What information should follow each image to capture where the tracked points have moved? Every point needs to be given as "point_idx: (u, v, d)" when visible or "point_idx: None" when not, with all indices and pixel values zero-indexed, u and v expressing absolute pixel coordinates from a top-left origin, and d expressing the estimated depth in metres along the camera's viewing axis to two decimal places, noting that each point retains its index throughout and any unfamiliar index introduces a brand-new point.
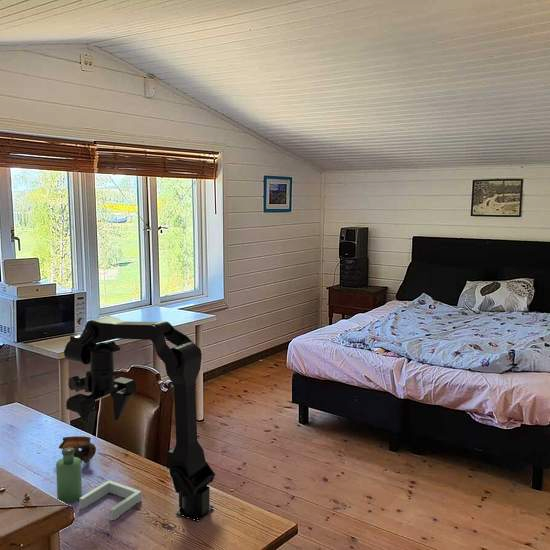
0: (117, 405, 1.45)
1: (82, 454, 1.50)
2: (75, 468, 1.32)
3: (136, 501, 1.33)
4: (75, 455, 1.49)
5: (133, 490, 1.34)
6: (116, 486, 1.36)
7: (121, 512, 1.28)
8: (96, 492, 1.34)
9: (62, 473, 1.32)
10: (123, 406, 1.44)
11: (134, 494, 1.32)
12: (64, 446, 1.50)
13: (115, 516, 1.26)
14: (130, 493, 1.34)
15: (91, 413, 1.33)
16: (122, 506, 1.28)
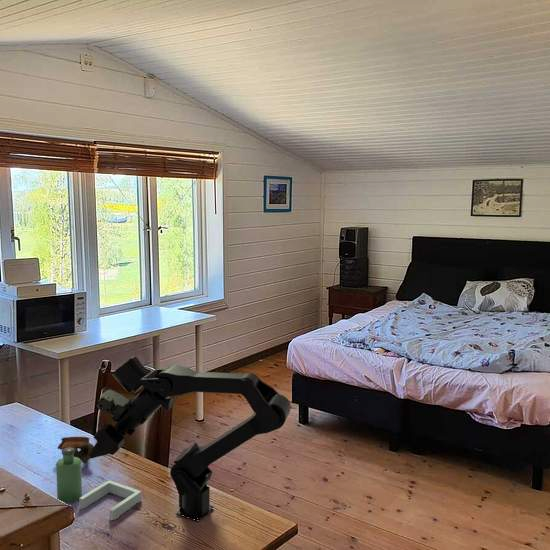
0: None
1: (81, 454, 1.50)
2: (75, 468, 1.32)
3: (136, 501, 1.33)
4: (74, 455, 1.49)
5: (133, 490, 1.34)
6: (116, 486, 1.36)
7: (121, 512, 1.28)
8: (96, 492, 1.34)
9: (62, 473, 1.32)
10: None
11: (134, 494, 1.32)
12: (63, 446, 1.50)
13: (115, 516, 1.26)
14: (130, 493, 1.34)
15: None
16: (122, 506, 1.28)
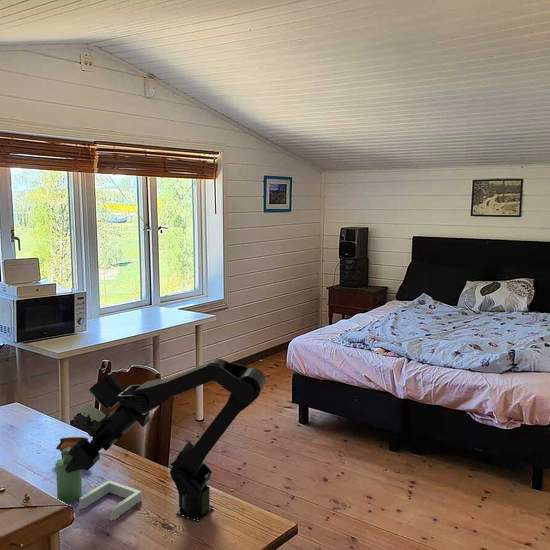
0: None
1: None
2: None
3: (136, 501, 1.33)
4: None
5: (133, 490, 1.34)
6: (116, 486, 1.36)
7: (121, 512, 1.28)
8: (96, 492, 1.34)
9: (62, 473, 1.32)
10: None
11: (134, 494, 1.32)
12: (61, 447, 1.50)
13: (115, 516, 1.26)
14: (130, 493, 1.34)
15: None
16: (122, 506, 1.28)
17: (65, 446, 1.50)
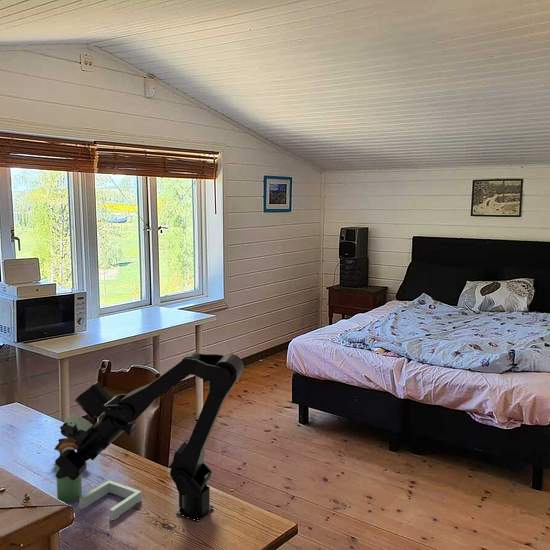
0: None
1: None
2: None
3: (136, 501, 1.33)
4: None
5: (133, 490, 1.34)
6: (116, 486, 1.36)
7: (121, 512, 1.28)
8: (96, 492, 1.34)
9: None
10: None
11: (134, 494, 1.32)
12: (60, 447, 1.49)
13: (115, 516, 1.26)
14: (130, 493, 1.34)
15: None
16: (122, 506, 1.28)
17: (63, 447, 1.49)
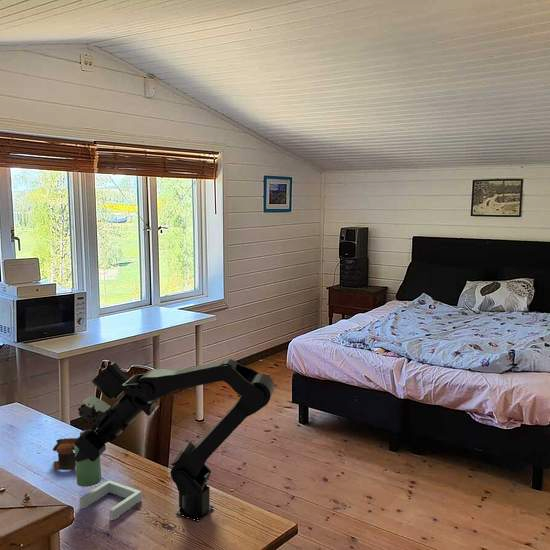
0: None
1: None
2: None
3: (136, 501, 1.33)
4: (69, 457, 1.48)
5: (133, 490, 1.34)
6: (116, 486, 1.36)
7: (121, 512, 1.28)
8: (96, 492, 1.34)
9: None
10: None
11: (134, 494, 1.32)
12: (58, 448, 1.49)
13: (115, 516, 1.26)
14: (130, 493, 1.34)
15: None
16: (122, 506, 1.28)
17: (62, 447, 1.49)
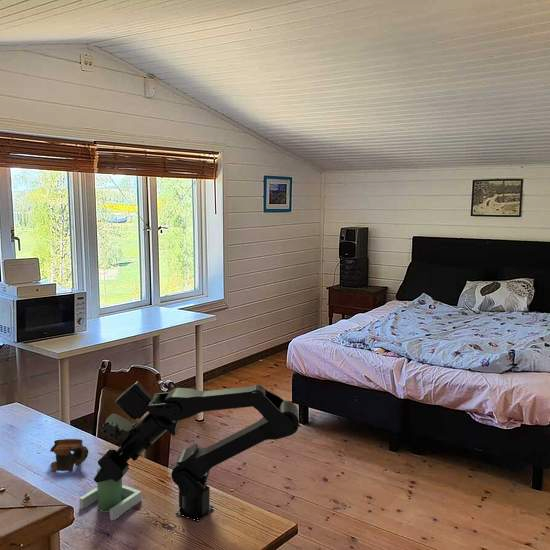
0: None
1: (74, 457, 1.48)
2: None
3: (136, 501, 1.33)
4: (67, 458, 1.48)
5: (133, 490, 1.34)
6: None
7: (121, 512, 1.28)
8: (96, 492, 1.34)
9: (103, 481, 1.28)
10: None
11: (134, 494, 1.32)
12: (56, 449, 1.48)
13: (115, 516, 1.26)
14: (130, 493, 1.34)
15: None
16: (122, 506, 1.28)
17: (59, 448, 1.48)
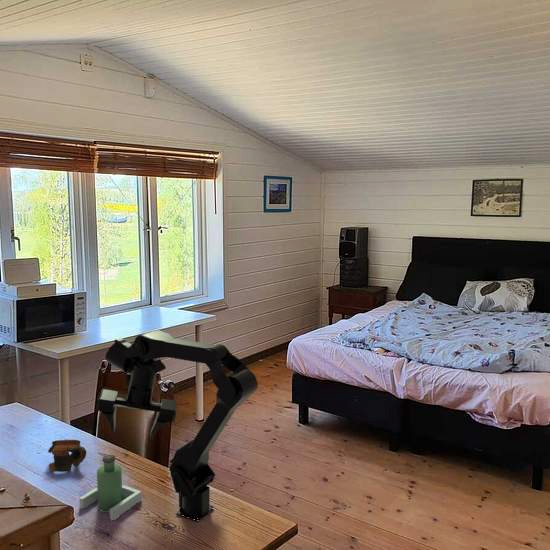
0: (153, 424, 1.38)
1: (72, 457, 1.48)
2: (116, 476, 1.29)
3: (136, 501, 1.33)
4: (65, 459, 1.47)
5: (133, 490, 1.34)
6: None
7: (121, 512, 1.28)
8: (96, 492, 1.34)
9: (103, 481, 1.28)
10: (154, 428, 1.36)
11: (134, 494, 1.32)
12: (54, 450, 1.48)
13: (115, 516, 1.26)
14: (130, 493, 1.34)
15: (106, 415, 1.32)
16: (122, 506, 1.28)
17: (57, 449, 1.48)
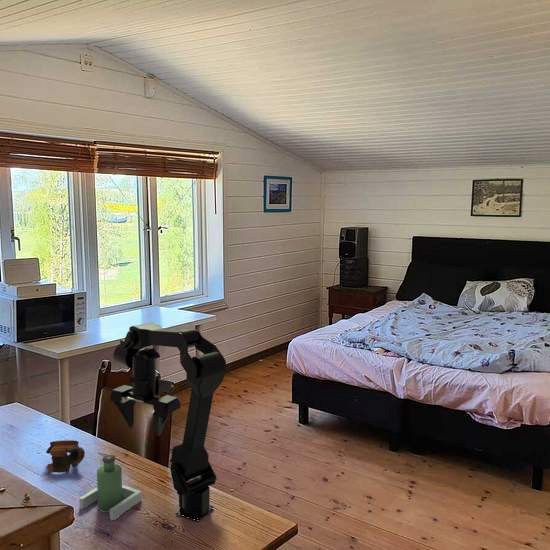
0: None
1: (70, 458, 1.48)
2: (116, 476, 1.29)
3: (136, 501, 1.33)
4: (63, 459, 1.47)
5: (133, 490, 1.34)
6: None
7: (121, 512, 1.28)
8: (96, 492, 1.34)
9: (103, 481, 1.28)
10: (155, 423, 1.38)
11: (134, 494, 1.32)
12: (52, 451, 1.48)
13: (115, 516, 1.26)
14: (130, 493, 1.34)
15: (117, 405, 1.42)
16: (122, 506, 1.28)
17: (55, 450, 1.47)
